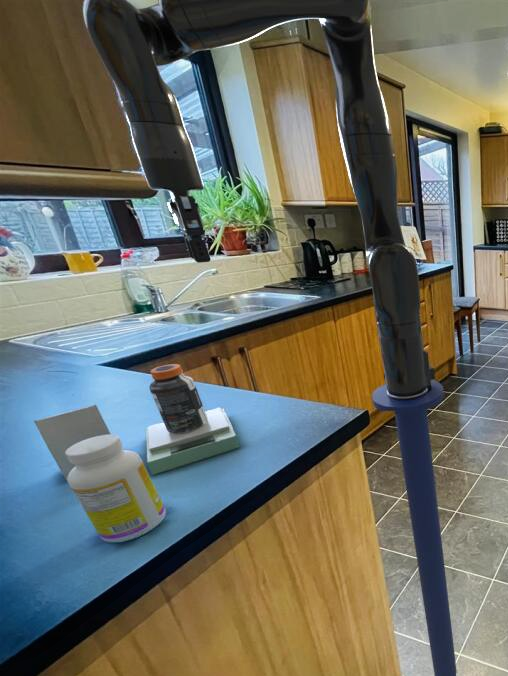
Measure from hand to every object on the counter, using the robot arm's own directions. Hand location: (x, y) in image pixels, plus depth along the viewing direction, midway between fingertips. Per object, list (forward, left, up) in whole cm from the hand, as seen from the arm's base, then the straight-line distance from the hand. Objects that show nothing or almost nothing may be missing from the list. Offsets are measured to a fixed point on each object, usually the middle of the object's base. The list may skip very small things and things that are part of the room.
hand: (200, 260), depth 72 cm
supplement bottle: (+18, +30, -30) cm, 46 cm away
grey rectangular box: (+23, +7, -30) cm, 39 cm away
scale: (+10, +10, -30) cm, 33 cm away
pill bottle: (+10, +8, -27) cm, 30 cm away
